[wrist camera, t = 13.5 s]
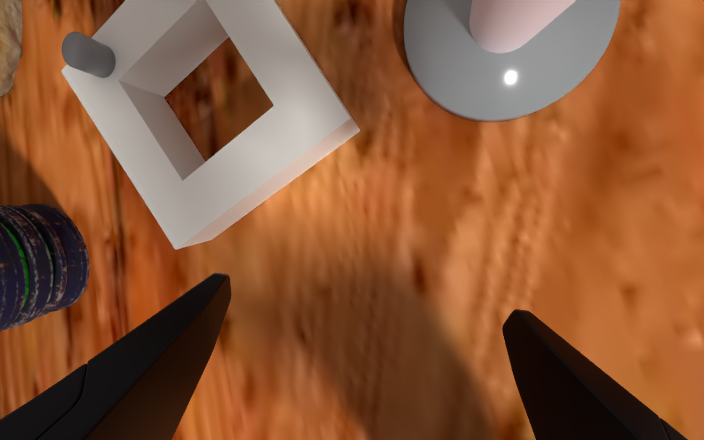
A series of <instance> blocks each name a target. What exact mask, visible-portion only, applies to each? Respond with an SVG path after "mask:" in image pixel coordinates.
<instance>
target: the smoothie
mask: <svg viewBox="0 0 704 440" xmlns="http://www.w3.org/2000/svg"><path fill="white" fill-rule="evenodd" d="M575 1H576V0H472V5H471V12H470V19H469V27H470V32H471V35H472V37H473V39H474V41H475V42H476V43H477V44H478V45H479V46H480V47H481V48H483V49H485V50H487V51H489V52H493V53H507V52H511V51H514V50H516V49H518V48H520V47H521V46H523V45H524V44H526V43H527V42H528V41H529V40H530V39H532V38H533V37H534V36H535V35H536V34H537V33H539V32H540V31H541V30H542V29H543V28H544V27H546V26H547V25H548V24H549V23H550V22H552V21H553V20H554V19H555V18H556V17H557V16H559V15H560V14H561V13H562V12H563V11H565V10H566V9H567V8H568V7H569V6H570V5H572V4H573V3H574V2H575Z"/></svg>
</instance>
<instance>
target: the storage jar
mask: <svg viewBox="0 0 704 440" xmlns="http://www.w3.org/2000/svg"><path fill="white" fill-rule="evenodd" d="M88 275H89V259H88V252H87V249H86V245H85V243H84V240H83V238H82V236H81V234H80V232H79V230H78V229H77V227H76V226H75V225H74V223H73V222H72V221H71V220H70V219H69V218H68V217H67V216H66V215H65V214H64V213H62V212H61V211H59V210H58V209H56V208H54V207H51V206H48V205H44V204H29V205H22V206H17V205H6V206H5V205H0V331H2V330H6V329H10V328H13V327H16V326H19V325H22V324H25V323H27V322H30V321H32V320H34V319H35V318H37V317H40V316H43V315H45V314H47V313H49V312H52V311H57V310H60V309H63V308H66V307H68V306H70V305H72V304H73V303H75V302H76V301H77V300H78V299H79V298H80V296H81V295H82V293H83V291H84V289H85V287H86V284H87V281H88Z"/></svg>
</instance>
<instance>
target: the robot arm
mask: <svg viewBox="0 0 704 440" xmlns="http://www.w3.org/2000/svg"><path fill="white" fill-rule="evenodd" d="M230 300H231V285H230V277H229V275H227V274H220V273H214V274H212V275H211V276H209V277H208V278H206V279H205V280H204V281H202V282H201V283H199V284H198V285H196V286H195V287H194V288H192V289H191V290H189V291H188V292H186V293H185V294H184V295H182V296H181V297H179V298H178V299H176V300H175V301H174V302H172V303H171V304H169V305H168V306H166V307H165V308H164V309H162V310H161V311H159V312H158V313H156V314H155V315H154V316H152V317H151V318H149V319H148V320H146V321H145V322H144V323H142V324H141V325H139V326H138V327H136V328H135V329H134V330H132V331H131V332H129V333H128V334H126V335H125V336H124V337H122V338H121V339H119V340H118V341H116V342H115V343H114V344H112V345H111V346H109V347H108V348H106V349H105V350H104V351H102V352H101V353H99V354H98V355H96V356H95V357H94V358H92V359H91V360H89V361H88V363H87V364H84V365H82V366H81V367H79V368H78V369H76V370H75V371H73V372H72V373H71V374H69V375H68V376H66V377H65V378H63V379H62V380H60V381H59V382H57V383H56V384H55V385H53V386H52V387H50V388H49V389H47V390H46V391H44V392H43V393H41V394H40V395H38V396H37V397H35V398H34V399H32V400H31V401H29V402H27V403H26V404H24V405H23V406H21V407H20V408H18V409H16V410H15V411H13V412H12V413H10V414H9V415H7V416H5V417H4V418H2V419H1V420H0V440H172V438H173V436H174V433H175V431H176V429H177V427H178V425H179V423H180V421H181V418H182V416H183V414H184V412H185V410H186V408H187V406H188V404H189V401H190V399H191V397H192V395H193V393H194V391H195V389H196V386H197V384H198V382H199V380H200V378H201V376H202V374H203V371H204V369H205V367H206V365H207V363H208V361H209V359H210V356H211V354H212V352H213V350H214V347H215V344H216V341H217V338H218V335H219V332H220V330H221V327H222V324H223V321H224V318H225V315H226V312H227V309H228V306H229V303H230ZM502 330H503V336H504V340H505V344H506V348H507V352H508V356H509V360H510V364H511V367H512V371H513V375H514V379H515V382H516V385H517V388H518V391H519V393H520V396H521V399H522V402H523V405H524V407H525V410H526V413H527V416H528V419H529V421H530V424H531V427H532V430H533V433H534V435H535V438H536V440H688V439H686V438H685V437H684V436H683V435H681V434H680V433H679V432H678V431H676V430H675V429H674V428H673V427H671V426H670V425H669V424H668V423H667V422H665V421H664V420H663V419H661V418H659V417H658V415H657V414H655V413H654V412H653V411H652V410H650V409H649V408H648V407H647V406H645V405H644V404H643V403H642V402H641V401H639V400H638V399H637V398H636V397H634V396H633V395H632V394H631V393H629V392H628V391H627V390H626V389H624V388H623V387H622V386H621V385H620V384H618V383H617V382H616V381H615V380H613V379H612V378H611V377H610V376H608V375H607V374H606V373H605V372H603V371H602V370H601V369H600V368H599V367H597V366H596V365H595V364H594V363H592V362H591V361H590V360H589V359H587V358H586V357H585V356H584V355H583V354H581V353H580V352H579V351H578V350H576V349H575V348H574V347H573V346H571V345H570V344H569V343H568V342H566V341H565V340H564V339H563V338H562V337H560V336H559V335H558V334H557V333H555V332H554V331H553V330H552V329H550V328H549V327H548V326H547V325H545V324H544V323H543V322H542V321H541V320H539V319H538V318H537V317H536V316H534V315H533V314H532V313H531V312H529V311H526V310H518V309H516V310H514V311H513V312H512V313H511V314H510V316H509V317H508V319H507V320H506V322H505V323H504V325H503V329H502Z"/></svg>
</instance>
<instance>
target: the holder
mask: <svg viewBox="0 0 704 440" xmlns="http://www.w3.org/2000/svg"><path fill="white" fill-rule="evenodd" d="M228 37H230V39H231V40H232V42H233V43H234V45H235V46H236V48H237V49H238V51H239V53H240V54H241V56H242V57H243V59H244V60H245V62H246V63H247V65H248V66H249V68H250V69H251V71H252V73H253V74H254V76H255V77H256V79H257V80H258V82H259V83H260V85H261V86H262V88H263V89H264V91H265V93H266V94H267V96H268V97H269V99H270V100H271V102H272V103H273V105H274V106H273V107H272V108H271V109H269V110H268V111H267V112H266V113H265V114H263V115H262V116H261V117H260V118H258V119H257V120H256V121H255V122H254V123H252V124H251V125H250V126H249V127H248V128H246V129H245V130H244V131H243V132H241V133H240V134H239V135H238V136H237V137H235V138H234V139H233V140H232V141H231V142H229V143H228V144H227V145H226V146H224V147H223V148H222V149H221V150H220V151H218V152H217V153H216V154H215V155H214V156H212V157H211V158H210V159H209V160H207V161H206V162H205V160H204V159H203V157H202V155H201V154H200V152H199V151H198V149H197V148H196V146H195V145H194V143H193V141H192V140H191V138H190V137H189V135H188V134H187V132H186V131H185V129H184V127H183V126H182V124H181V123H180V121H179V120H178V118H177V117H176V115H175V114H174V112H173V110H172V109H171V107H170V106H169V104H168V103H167V101H166V100H165V98H164V97H165V96H166V95H167V94H168V93H170V92H171V91H172V90H173V89H174V88H175V87H176V86H177V85H178V84H179V83H180V82H181V81H182V80H183V79H185V78H186V77H187V76H188V75H189V74H190V73H191V72H192V71H193V70H194V69H195V68H196V67H197V66H198V65H199V64H201V63H202V62H203V61H204V60H205V59H206V58H207V57H208V56H209V55H210V54H211V53H212V52H213V51H214V50H215V49H217V48H218V47H219V46H220V45H221V44H222V43H223V42H224V41H225V40H226V39H227V38H228ZM62 54H63V58H64V60H65V62H66V63H67V65H66V66H65V67H64V68H63V70H62V71H61V72H62V73H63V75H64V76H65V78H66V80H67V81H68V83H69V84H70V86H71V87H72V89H73V91H74V92H75V94H76V95H77V97H78V98H79V100H80V101H81V103H82V105H83V106H84V108H85V109H86V111H87V112H88V114H89V116H90V117H91V119H92V120H93V122H94V123H95V125H96V126H97V128H98V130H99V131H100V133H101V134H102V136H103V137H104V139H105V141H106V142H107V144H108V145H109V147H110V148H111V150H112V151H113V153H114V155H115V156H116V158H117V159H118V161H119V162H120V164H121V166H122V167H123V169H124V170H125V172H126V173H127V175H128V177H129V178H130V180H131V181H132V183H133V184H134V186H135V187H136V189H137V191H138V192H139V194H140V195H141V197H142V198H143V200H144V202H145V203H146V205H147V206H148V208H149V209H150V211H151V212H152V214H153V216H154V217H155V219H156V220H157V222H158V223H159V225H160V227H161V228H162V230H163V231H164V233H165V234H166V236H167V237H168V239H169V241H170V242H171V244H172V245H173V247H174V248H175V250H176V249H180V248H184V247H187V246H191V245H195V244H199V243H203V242H206V241H210V240H212V239H214V238H215V237H216V236H218V235H219V234H221V233H222V232H223V231H225V230H226V229H227V228H229V227H230V226H231V225H233V224H234V223H236V222H237V221H238V220H240V219H241V218H242V217H244V216H245V215H246V214H248V213H249V212H251V211H252V210H253V209H255V208H256V207H257V206H259V205H260V204H261V203H263V202H264V201H266V200H267V199H268V198H270V197H271V196H272V195H274V194H275V193H276V192H278V191H279V190H281V189H282V188H283V187H285V186H286V185H287V184H289V183H290V182H292V181H293V180H294V179H296V178H297V177H298V176H300V175H301V174H302V173H304V172H305V171H307V170H308V169H309V168H311V167H312V166H313V165H315V164H316V163H317V162H319V161H320V160H322V159H323V158H324V157H326V156H327V155H328V154H330V153H331V152H332V151H334V150H335V149H337V148H338V147H339V146H341V145H342V144H343V143H345V142H346V141H347V140H349V139H350V138H352V137H353V136H354V135H356V134H357V133H358V132H360V131H361V130H360V129H359V127H358V126H357V124H356V123H355V121H354V120H353V118H352V117H351V115H350V113H349V112H348V110H347V109H346V107H345V106H344V104H343V103H342V101H341V100H340V98H339V97H338V95H337V94H336V92H335V91H334V89H333V87H332V86H331V84H330V83H329V81H328V80H327V78H326V77H325V75H324V74H323V72H322V71H321V69H320V68H319V66H318V65H317V63H316V61H315V60H314V58H313V57H312V55H311V54H310V52H309V51H308V49H307V48H306V46H305V45H304V43H303V42H302V40H301V39H300V37H299V35H298V34H297V32H296V31H295V29H294V28H293V26H292V25H291V23H290V22H289V20H288V19H287V17H286V16H285V14H284V13H283V11H282V9H281V8H280V6H279V5H278V3H277V2H276V0H125V1H124V3H123V4H122V5H121V6H120V7H119V8H118V9H117V10H116V11H115V12H114V14H113V15H112V16H111V17H110V18H109V19H108V20H107V21H106V22H105V23H104V25H103V26H102V27H101V28H100V29H99V30H98V31H97V32H96V33H95V34H94V35H93V37H92V38H90V37H87V36H85V35H83V34H81V33H79V32H71V33H69V34H68V35H67V36H66V37H65V39H64V41H63V44H62Z"/></svg>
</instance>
